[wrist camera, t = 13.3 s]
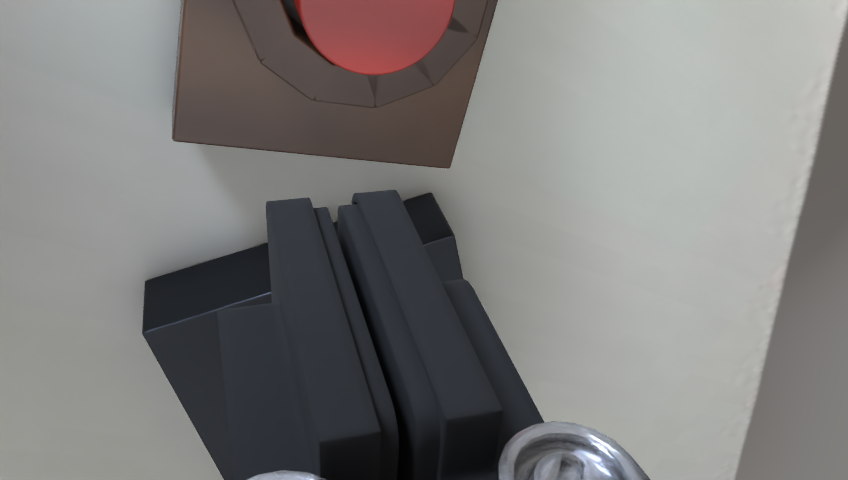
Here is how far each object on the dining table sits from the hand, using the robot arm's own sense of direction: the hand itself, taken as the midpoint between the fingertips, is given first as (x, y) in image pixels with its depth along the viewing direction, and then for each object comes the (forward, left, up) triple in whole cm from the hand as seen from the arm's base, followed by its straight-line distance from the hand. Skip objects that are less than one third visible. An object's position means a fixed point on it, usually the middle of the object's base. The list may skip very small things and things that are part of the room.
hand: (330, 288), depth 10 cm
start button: (-1, +3, -12) cm, 13 cm away
